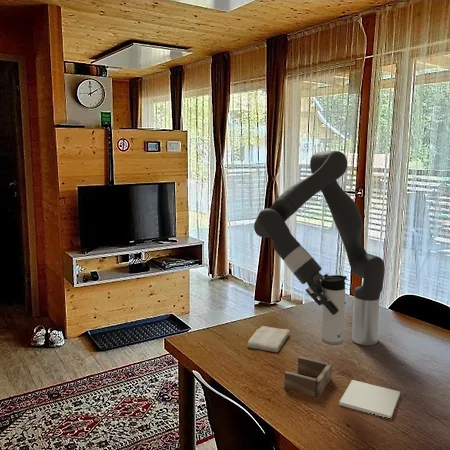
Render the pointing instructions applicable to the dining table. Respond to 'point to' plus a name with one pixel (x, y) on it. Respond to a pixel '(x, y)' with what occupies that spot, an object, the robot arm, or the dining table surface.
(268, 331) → the washcloth
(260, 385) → the dining table surface
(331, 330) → the travel mug
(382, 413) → the white mat
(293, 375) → the walnut cubby
